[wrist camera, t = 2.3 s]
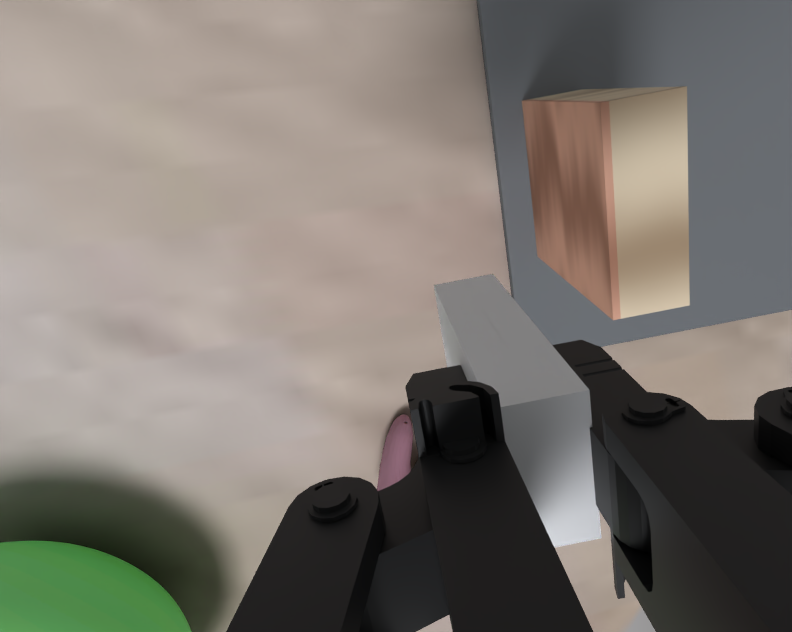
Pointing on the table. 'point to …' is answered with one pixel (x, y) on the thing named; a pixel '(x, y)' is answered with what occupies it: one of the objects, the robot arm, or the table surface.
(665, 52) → the rubber mat
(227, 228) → the table surface
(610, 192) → the oak tile
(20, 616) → the toy bird
